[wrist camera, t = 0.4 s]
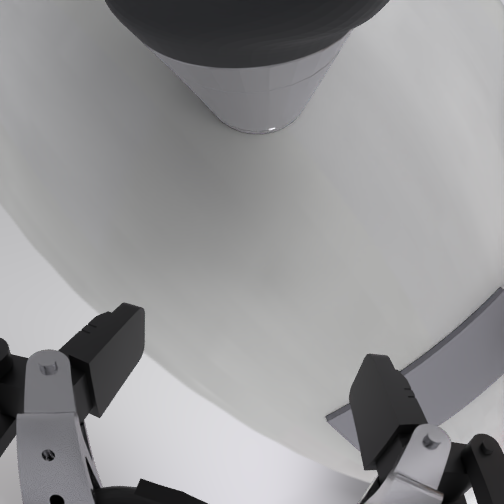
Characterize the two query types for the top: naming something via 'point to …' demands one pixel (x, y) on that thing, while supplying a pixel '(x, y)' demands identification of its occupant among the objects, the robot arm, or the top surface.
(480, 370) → the gray mat
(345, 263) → the top surface
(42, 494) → the robot arm
